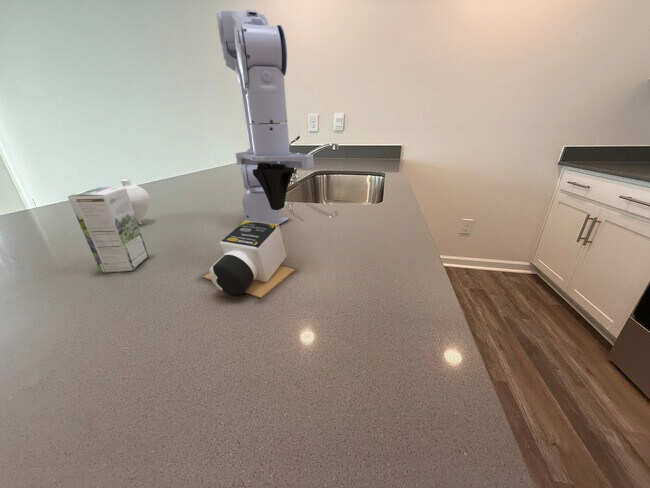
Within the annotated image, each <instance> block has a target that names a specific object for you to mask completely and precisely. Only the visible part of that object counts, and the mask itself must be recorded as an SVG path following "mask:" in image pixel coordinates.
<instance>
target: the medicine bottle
mask: <svg viewBox="0 0 650 488" xmlns="http://www.w3.org/2000/svg"><path fill="white" fill-rule="evenodd" d="M219 245H220V248H221V250H222V253H223V256H221V257H220V258H219V259H218V260H217V261H216V262H215V263H214V264H213V265H212V266H211V267H210V268H209V273H210V278H211V280H212V281H211V280H210V281H211V282H212V284H214V285H215V287H216V288H217V289H219V290H220V291H221V292H224V293H225V294H226V295H229V296H236V297H238V296H241V295H243V294H245V293H244V292H245V290H246V289H247V288H248V287H249V285H250V284H251V283H252V282H253V281H254V280H258V281H263V282H267V281H268V280H269V279H270V278H271V276H272V275H273V274H274V272H275V271H276V270H277V268H278V267H279V266H281V264H282V263H283V262H284V260H285V259H286V258H287V253H286V249H285V245H284V241H283V235H282V231H281V227H280V224H279V225H277V224H270V223H262V222H254V221H245V220H244V221H242V222H241V223H240V224H239V225H237V227H235V228H234V229H233V230H231V232H230V233H228V234H227V236H225V237H224V238H223V239H221V241H220V242H219Z"/></svg>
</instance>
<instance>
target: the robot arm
mask: <svg viewBox="0 0 650 488" xmlns="http://www.w3.org/2000/svg"><path fill="white" fill-rule="evenodd" d="M215 15H216V23H217V30H218V34H219V35H218V37H219V42H220V47H221V50H222V51H221V52H222V56H223V60H224V63H225V67H227V68H229V69H231V70H232V71H234V73H235V75H236V78H237V81H238V84H239V88H240V89H239V90H240V94H241V95H240V96H241V101H242V109H243V115H244V120H245V121H244V122H245V127H246V135H247V141H248V146H249V148H248V149H247V150H246V151H240V152H235V159H236V163H237V164H236V165H239V166H240V173H241V179H242V185H243V188H244V189H245V190H244V191H243V193H242V194H241V195H242V196H241V205H242V210H243V216H244V221H254V222H262V223H270V224H277V225H279V226H280V225H281V224H283V223H286V222H287V221H289V217H286V216H282V209H284V208H285V204H286V197H287V192H288V188H289V184H290V182H291V180H292V177H293V175H294V173H295V169H301V170H310V169H314V168H315V160H314V154H308V153H307V154H306V153H298V152H291V151H290V138H289V126H288V113H287V100H286V87H285V76H286V74H287V68H288V48H287V47H288V44H287V38H286V33H285V30H284V28H283V26H282V24H277V25H275V26H274V25H269V21H268V18H267V17H266V15H265V13H264V14H263V13H259V12H258V10H256V9H246V10H245V11H241V10H240V11H238V10H217V12H216V14H215Z"/></svg>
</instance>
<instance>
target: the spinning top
mask: <svg viewBox="0 0 650 488" xmlns="http://www.w3.org/2000/svg"><path fill="white" fill-rule="evenodd" d="M120 183H121V186H120V187H123V188H126V190H127V193H128V196H129V199H130V202H131V205H132V208H133V211H134V214H135V217H136V220H137V222H138V224H139V225H142V224H143V223H142V221H143V219H144V217H145V216H146V213H147V211H148V208H149V205H150V200H151V199H150V195H149V193H148V192H147V190H145V189H144V188H142V187H141V186H140V185H135V184H132V182H131V180H130V179H121V180H120Z"/></svg>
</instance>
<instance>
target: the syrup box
mask: <svg viewBox="0 0 650 488" xmlns="http://www.w3.org/2000/svg"><path fill="white" fill-rule="evenodd" d="M67 199H68V202H69V203H70V206H71V208H72V211H73V212H74V215H75V217H76V220H77V221H78V224H79V226H80V228H81V231H82V233H83V235H84V237H85V240H86V243H87V244H88V247H89V248H90V251H91V253H92V256H93V258H94V260H95V262H96V265H97V267H98V269H99V271H100V273H104V274H105V273H119V272H120V273H121V272H122V273H123V272H132V271H134V270H135V269H136V268H138V267H139V266H140V265H141V264H142V263H144V262H145V261H146V260H147V259H148V258H149V253H148V250H147V247H146V245H145V241H144V238H143V235H142V232H141V229H140V226H139V222H138V221H137V220H136V217H135V214H134V211H133V208H132V205H131V202H130V199H129V196H128V193H127V190H126V188H123V187H121V186H97V187H92V188H89V189H86V190H83V191H81V192H80V191H79V192H77V193H73V194H70V195H68V196H67Z"/></svg>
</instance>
